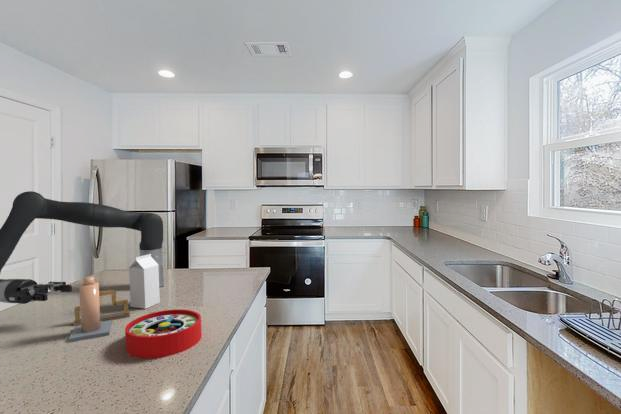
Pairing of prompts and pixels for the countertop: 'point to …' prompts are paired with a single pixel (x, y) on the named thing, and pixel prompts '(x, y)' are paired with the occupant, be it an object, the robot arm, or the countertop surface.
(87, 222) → the robot arm
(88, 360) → the countertop surface
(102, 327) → the pad
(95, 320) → the peach bottle
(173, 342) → the toy clock
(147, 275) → the milk carton
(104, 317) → the golden stepped frame
